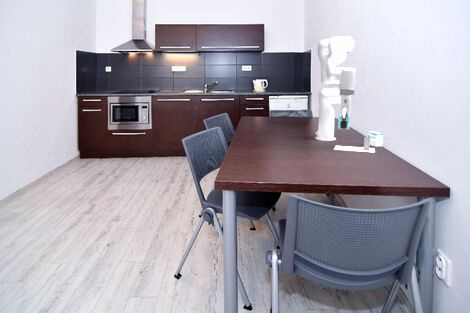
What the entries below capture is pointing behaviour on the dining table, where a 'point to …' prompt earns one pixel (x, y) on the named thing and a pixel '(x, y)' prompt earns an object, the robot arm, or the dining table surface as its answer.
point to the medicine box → (375, 138)
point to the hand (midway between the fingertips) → (343, 127)
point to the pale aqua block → (347, 121)
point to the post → (366, 142)
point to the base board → (354, 149)
